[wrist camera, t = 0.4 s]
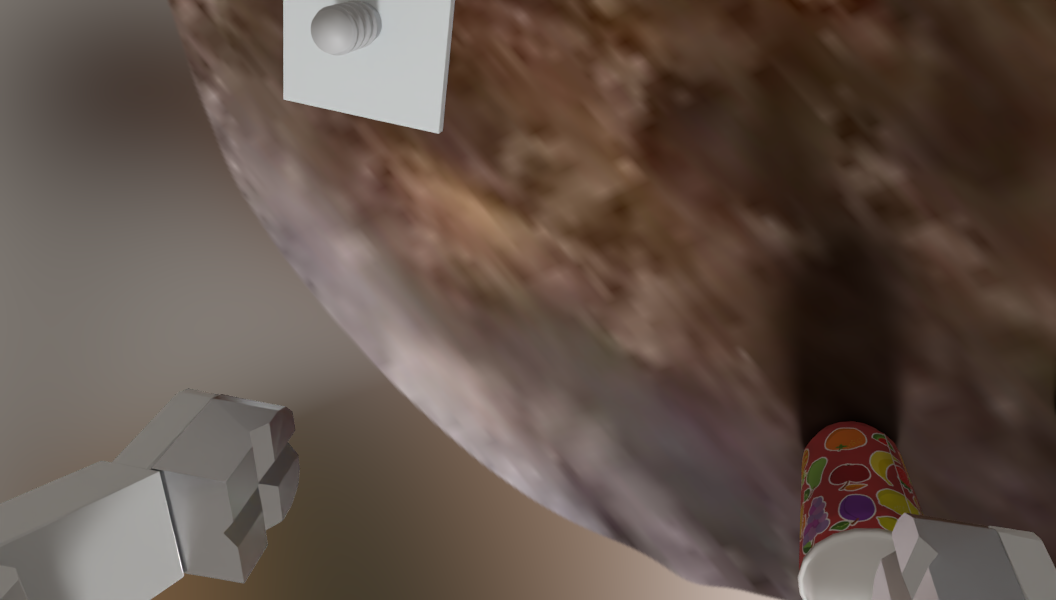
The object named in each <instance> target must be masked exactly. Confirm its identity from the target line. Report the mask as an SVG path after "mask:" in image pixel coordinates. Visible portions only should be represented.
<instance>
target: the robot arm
mask: <svg viewBox="0 0 1056 600" xmlns="http://www.w3.org/2000/svg"><path fill="white" fill-rule="evenodd" d="M294 431H295V425H294V418H293V413H292V411H291V410H290V409H288V408H287V407H284V406H279V405H274V404H269V403H264V402H259V401H254V400H249V399H244V398H238V397H233V396H228V395H223V394H221V395H219V394H214V393H209V392H204V391H199V390H194V389H189V388H188V389H185V390H183V391H180V392H178V393H177V394H176V395H175V396H174V397H173V398H172V399H171V400H170V401H169V402H168V403H167V404H166V405H165V406H164V408H163V409H162V410H161V411H160V412H159V413H158V414H157V415H156V416H155V417H154V418H153V419H152V420H151V421H150V422H149V423H148V425H147V426H146V427H145V428H144V429H143V430H142V431H141V432H140V433H139V434H138V435H137V436H136V437H135V438H134V439H133V440H132V441H131V443H130V444H129V445H128V446H127V447H126V448H125V449H124V450H123V451H122V452H121V453H120V454H119V456H117V457H116V459H115V460H114V461H113V462H106V461H100V462H97V463H95V464H92V465H90V466H88V467H85V468H83V469H81V470H78V471H76V472H74V473H71V474H69V475H67V476H64V477H62V478H60V479H57V480H55V481H52V482H50V483H48V484H45V485H43V486H41V487H38V488H36V489H34V490H31V491H29V492H26V493H24V494H22V495H19V496H17V497H15V498H13V499H10V500H8V501H5V502H3V503H1V504H0V600H150V599H152V598H153V597H155V596H156V595H158V594H159V593H161V592H162V591H163V590H165V589H166V588H168V587H169V586H171V585H172V584H174V583H175V582H177V581H178V580H179V579H181V578H182V577H184V573H187V574H193V575H199V576H206V577H211V578H217V579H222V580H228V581H234V582H240V583H245V581H246V579H247V578H248V576H249V575H250V573H251V571H252V570H253V568H254V567H255V565H256V563H257V562H258V560H259V558H260V557H261V555H262V554H263V551H264V550H265V549H266V547H267V545H268V544H267V537H266V530H267V529H269V528H270V527H272V526H274V525H276V524H277V523H279V522H281V521H282V520H283V519H284V517H285V515H286V514H287V512H288V510H289V509H290V507H291V505H292V502H293V499H294V496H295V493H296V490H297V487H298V481H299V470H300V467H299V457H298V454H297V453H296V451H295V450H294V449H293V448H292V447H291V445H290V444H289V443H288V441H289V439H290V438H291V436H292V435H293V433H294ZM891 535H892V539H893V542H894V546H895V550H896V551H894V552H892V553H891V554H889V555H887V556H886V557H884V558H882V559H881V561H880V564H879V566H878V569H877V572H876V575H875V578H874V585H873V593H872V600H1056V569H1055V567H1054V565H1053V563H1052V561H1051V559H1050V556H1049V554H1048V552H1047V550H1046V548H1045V546H1044V544H1043V542H1042V540H1041V539H1040V538H1039V537H1038V536H1037V535H1035V534H1034V533H1033V532H1027V531H1021V530H1014V529H1008V528H1001V527H995V526H988V527H987V526H984V525H978V524H972V523H966V522H960V521H954V520H947V519H941V518H935V517H929V516H923V515H917V514H911V513H905V512H904V514H903V515H902V516H901V517H900V518H899V519H898V520H897V522H896V525H895V527H894V529H893V532H892V534H891Z"/></svg>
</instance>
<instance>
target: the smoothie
mask: <svg viewBox="0 0 1056 600" xmlns="http://www.w3.org/2000/svg"><path fill="white" fill-rule="evenodd" d="M904 512H905V513H911V514H917V515H923V513H922V511H921V508H920V505H919V503H918V500H917V497H916V495H915V492H914V489H913V487H912V484H911V481H910V479H909V476H908V473H907V471H906V468H905V465H904V463H903V460H902V457H901V454H900V452H899V451H898V449H897V447H896V445H895V443H894V442H893V441H892V440H891V439H889V438H888V437H887V436H886V435H885V434H884V433H882V432H880V431H878V430H877V429H876V428H874V427H871V426H869V425H867V424H865V423H860V422H854V421H846V422H838V423H835V424H832V425H829V426H826V427H825V428H824V429H822V430H821V431H819V432H818V433H817V434H816V436H815V437H813V438H812V439H811V441H810V442H809V444H808V445H807V446H806V448H805V450H804V454H803V458H802V482H801V518H800V553H799V572H798V584H799V593H800V595H801V597H802V599H803V600H872V593H873V585H874V578H875V575H876V572H877V569H878V566H879V564H880V561H881V559H882V558H884V557H886V556H887V555H889V554H891V553H892V552H894V551H896V550H895V546H894V542H893V539H892V535H891V534H892V532H893V529H894V527H895V525H896V522H897V520H898V519H899V518H900V517H901V516H902V515H903V514H904Z"/></svg>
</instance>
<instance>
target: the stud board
mask: <svg viewBox="0 0 1056 600" xmlns="http://www.w3.org/2000/svg"><path fill="white" fill-rule="evenodd" d="M454 4H455V0H283V69H284V100H288V101H293V102H297V103H302V104H306V105H311V106H315V107H320V108H325V109H329V110H334V111H338V112H343V113H347V114H352V115H356V116H361V117H365V118H370V119H375V120H379V121H384V122H388V123H393V124H397V125H402V126H406V127H411V128H415V129H420V130H424V131H429V132H434V133H438V134H439V133H440V132H442V131H443V121H444V110H445V100H446V89H447V79H448V68H449V57H450V47H451V36H452V26H453V15H454Z"/></svg>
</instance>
